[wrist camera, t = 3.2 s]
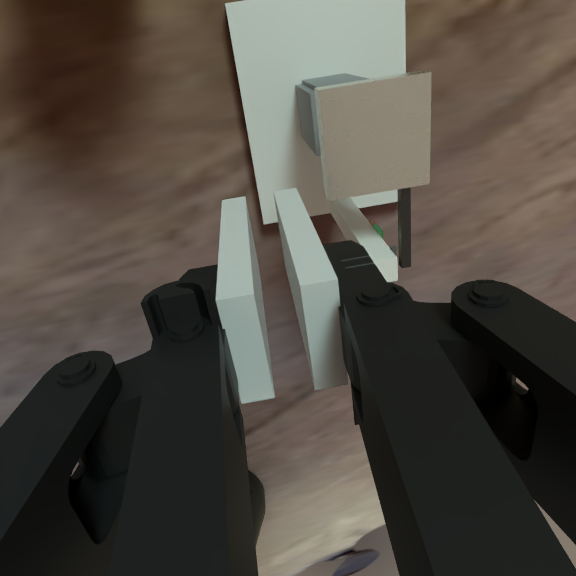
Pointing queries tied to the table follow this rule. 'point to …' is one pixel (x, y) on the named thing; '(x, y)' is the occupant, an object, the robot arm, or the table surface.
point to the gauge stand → (311, 96)
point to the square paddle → (377, 141)
